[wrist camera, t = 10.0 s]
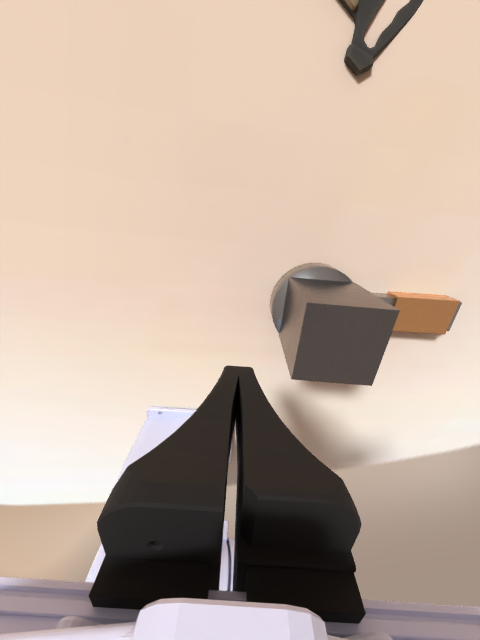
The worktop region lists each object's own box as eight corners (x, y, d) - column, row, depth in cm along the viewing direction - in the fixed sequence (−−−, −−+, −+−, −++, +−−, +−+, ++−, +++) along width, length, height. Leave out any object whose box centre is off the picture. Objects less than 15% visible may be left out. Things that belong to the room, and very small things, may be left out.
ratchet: (266, 335, 22) (271, 364, 18) (275, 260, 20) (283, 272, 15) (429, 346, 23) (474, 377, 18) (461, 272, 20) (523, 288, 15)
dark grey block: (279, 335, 20) (291, 379, 15) (288, 276, 18) (307, 302, 13) (338, 340, 20) (371, 385, 15) (354, 282, 18) (400, 310, 13)
